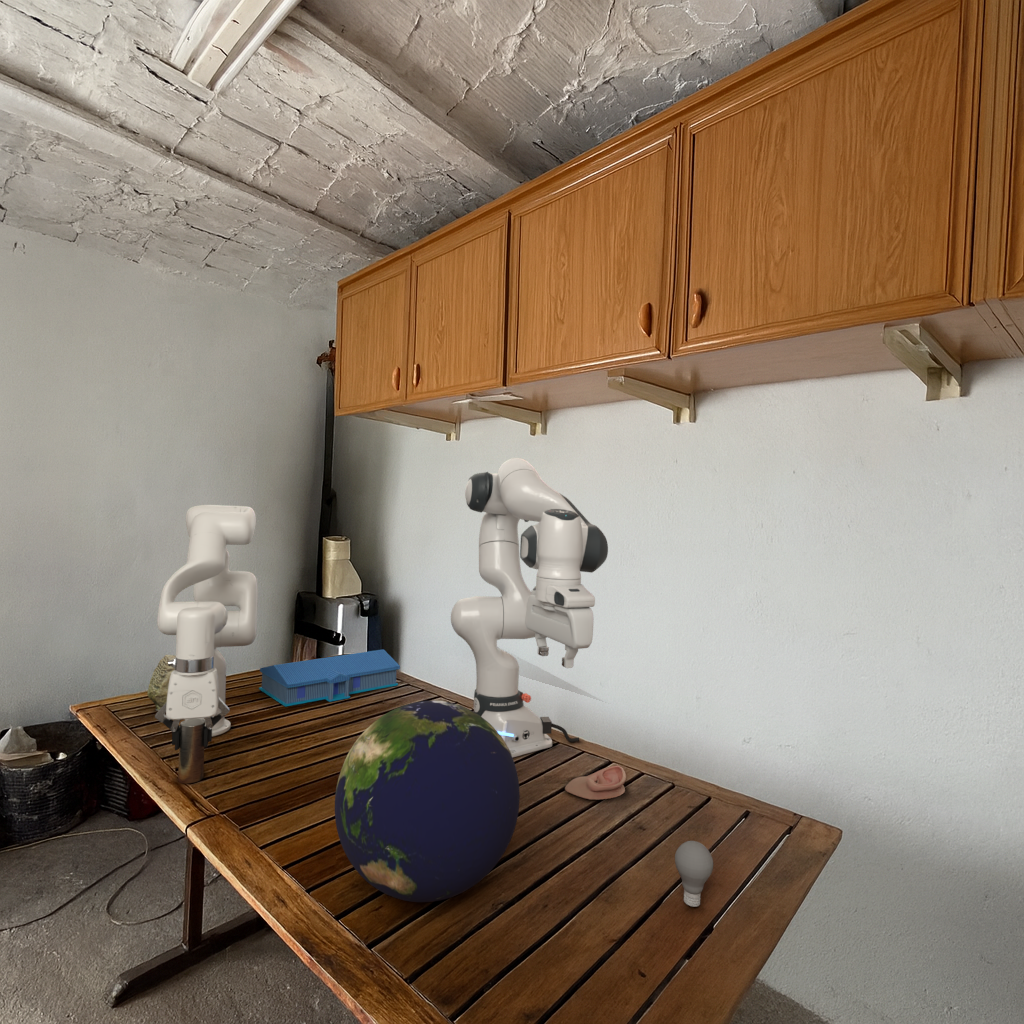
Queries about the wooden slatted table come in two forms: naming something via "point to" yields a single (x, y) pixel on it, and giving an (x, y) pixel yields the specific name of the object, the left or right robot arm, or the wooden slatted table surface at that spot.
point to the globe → (427, 801)
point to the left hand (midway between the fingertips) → (191, 745)
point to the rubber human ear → (599, 784)
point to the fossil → (160, 682)
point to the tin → (191, 751)
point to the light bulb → (693, 869)
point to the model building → (329, 677)
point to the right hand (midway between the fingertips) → (554, 661)
